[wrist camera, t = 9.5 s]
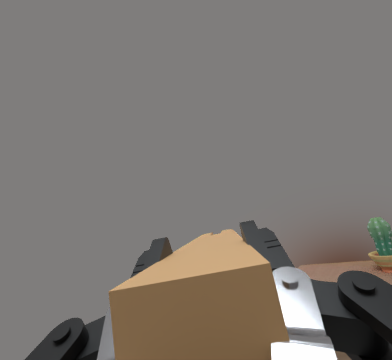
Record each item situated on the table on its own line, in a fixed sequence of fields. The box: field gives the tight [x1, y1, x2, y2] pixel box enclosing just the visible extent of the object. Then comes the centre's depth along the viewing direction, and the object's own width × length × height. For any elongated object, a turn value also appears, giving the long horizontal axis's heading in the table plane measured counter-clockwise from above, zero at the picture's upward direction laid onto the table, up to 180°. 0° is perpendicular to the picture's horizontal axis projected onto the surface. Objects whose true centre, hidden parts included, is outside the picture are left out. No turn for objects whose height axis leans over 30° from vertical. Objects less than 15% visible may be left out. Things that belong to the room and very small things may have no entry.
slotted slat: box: [109, 229, 290, 360], centre depth 16 cm, size 24×4×2 cm, turn 172°
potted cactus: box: [367, 217, 392, 273], centre depth 104 cm, size 15×15×25 cm
